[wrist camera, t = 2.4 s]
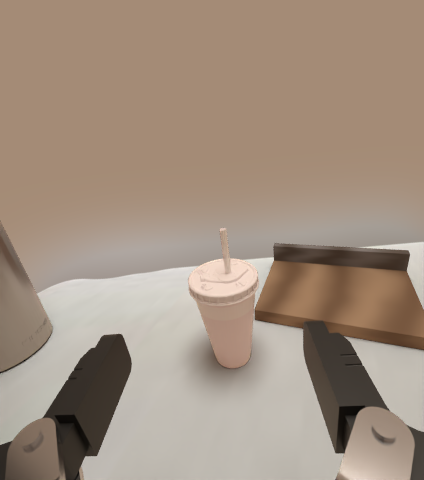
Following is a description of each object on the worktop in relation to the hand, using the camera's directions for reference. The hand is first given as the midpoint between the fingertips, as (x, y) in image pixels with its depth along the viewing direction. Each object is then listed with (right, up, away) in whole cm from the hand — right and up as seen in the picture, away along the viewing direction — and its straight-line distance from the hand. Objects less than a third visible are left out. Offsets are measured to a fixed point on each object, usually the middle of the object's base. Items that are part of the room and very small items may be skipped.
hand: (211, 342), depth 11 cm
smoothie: (+2, -8, +16) cm, 18 cm away
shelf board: (+16, -3, +22) cm, 27 cm away
